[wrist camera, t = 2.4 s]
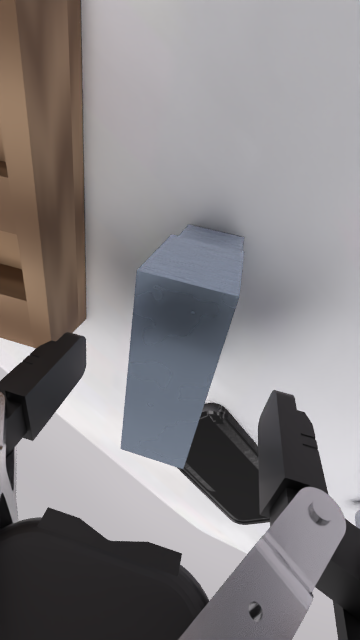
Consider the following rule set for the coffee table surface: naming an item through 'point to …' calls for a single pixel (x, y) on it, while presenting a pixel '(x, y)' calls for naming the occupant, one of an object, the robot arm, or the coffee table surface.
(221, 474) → the phone
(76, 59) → the two-pocket wooden block
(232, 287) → the brushed steel block
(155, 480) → the coffee table surface
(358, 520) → the silver thin wire frame
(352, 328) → the coffee table surface
